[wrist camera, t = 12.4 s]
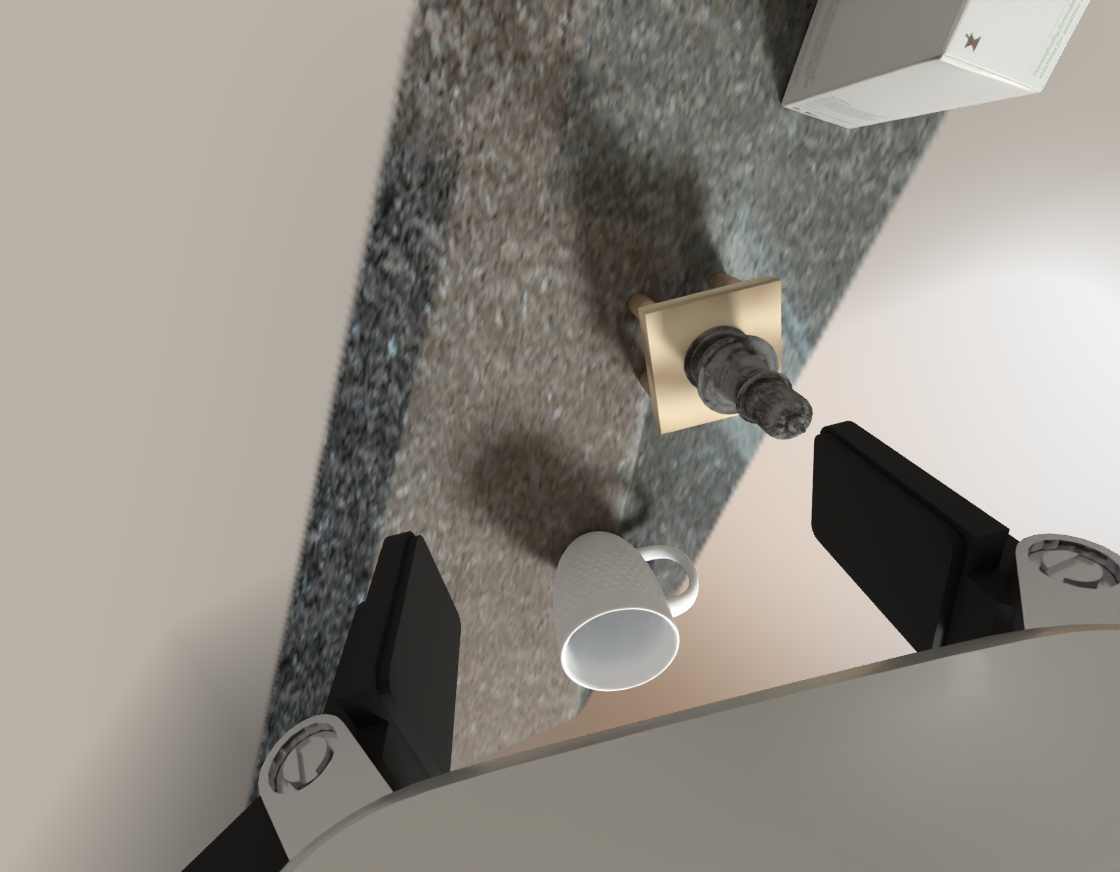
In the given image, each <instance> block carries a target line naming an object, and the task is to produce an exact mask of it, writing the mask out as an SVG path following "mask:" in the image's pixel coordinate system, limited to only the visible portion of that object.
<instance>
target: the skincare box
mask: <svg viewBox="0 0 1120 872" xmlns="http://www.w3.org/2000/svg"><path fill="white" fill-rule="evenodd" d="M1089 1H1090V0H818V2H817V5H816V8H815V10H814V13H813V16H812V19H811V21H810V24H809V27H808V30H807V33H806V35H805V38H804V41H803V44H802V47H801V49H800V52H799V55H798V58H797V61H796V63H795V66H794V69H793V72H792V75H791V78H790V81H789V83H788V86H787V89H786V92H785V95H784V98H783V101H782V106H783V107H786V108H789V109H792V110H794V111H797V112H800V113H803V114H806V115H809V116H812V117H815V118H818V119H821V120H824V121H827V122H830V123H833V124H836V125H839V126H842V127H845V128H848V129H850V128H856V127H860V126H866V125H871V124H876V123H881V122H887V121H892V120H897V119H902V118H908V117H913V116H918V115H923V114H928V113H933V112H938V111H944V110H949V109H954V108H960V107H964V106H969V105H975V104H981V103H985V102H990V101H996V100H1001V99H1005V98H1011V97H1017V96H1022V95H1027V94H1032V93H1038V92H1041V91H1042V89H1043V87H1044V85H1045V84H1046V82H1047V80H1048V78H1049V76H1050V74H1051V72H1052V70H1053V68H1054V67H1055V65H1056V63H1057V61H1058V59H1059V57H1060V55H1061V53H1062V52H1063V50H1064V48H1065V46H1066V44H1067V42H1068V40H1069V38H1070V36H1071V35H1072V33H1073V31H1074V29H1075V27H1076V25H1077V23H1078V22H1079V20H1080V18H1081V16H1082V14H1083V12H1084V10H1085V9H1086V7H1087V5H1088V3H1089Z"/></svg>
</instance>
